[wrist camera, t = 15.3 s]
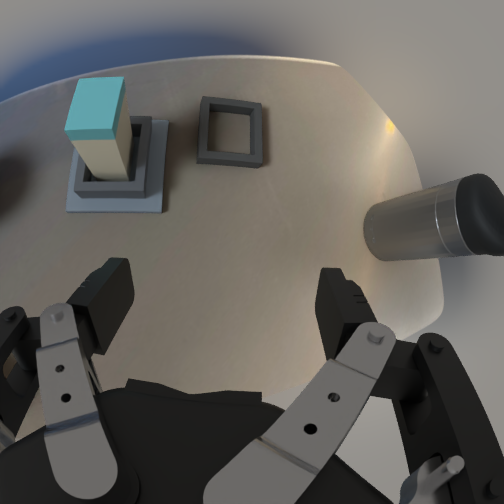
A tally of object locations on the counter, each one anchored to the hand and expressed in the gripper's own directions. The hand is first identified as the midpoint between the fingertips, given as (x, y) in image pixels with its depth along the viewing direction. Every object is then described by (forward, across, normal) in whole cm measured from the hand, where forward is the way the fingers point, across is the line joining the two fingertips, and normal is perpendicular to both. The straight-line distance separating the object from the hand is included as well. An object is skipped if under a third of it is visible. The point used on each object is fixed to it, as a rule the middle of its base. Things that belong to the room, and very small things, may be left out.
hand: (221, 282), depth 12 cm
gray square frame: (+30, +3, -4) cm, 30 cm away
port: (+23, +16, -1) cm, 28 cm away
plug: (+23, +16, -2) cm, 27 cm away
